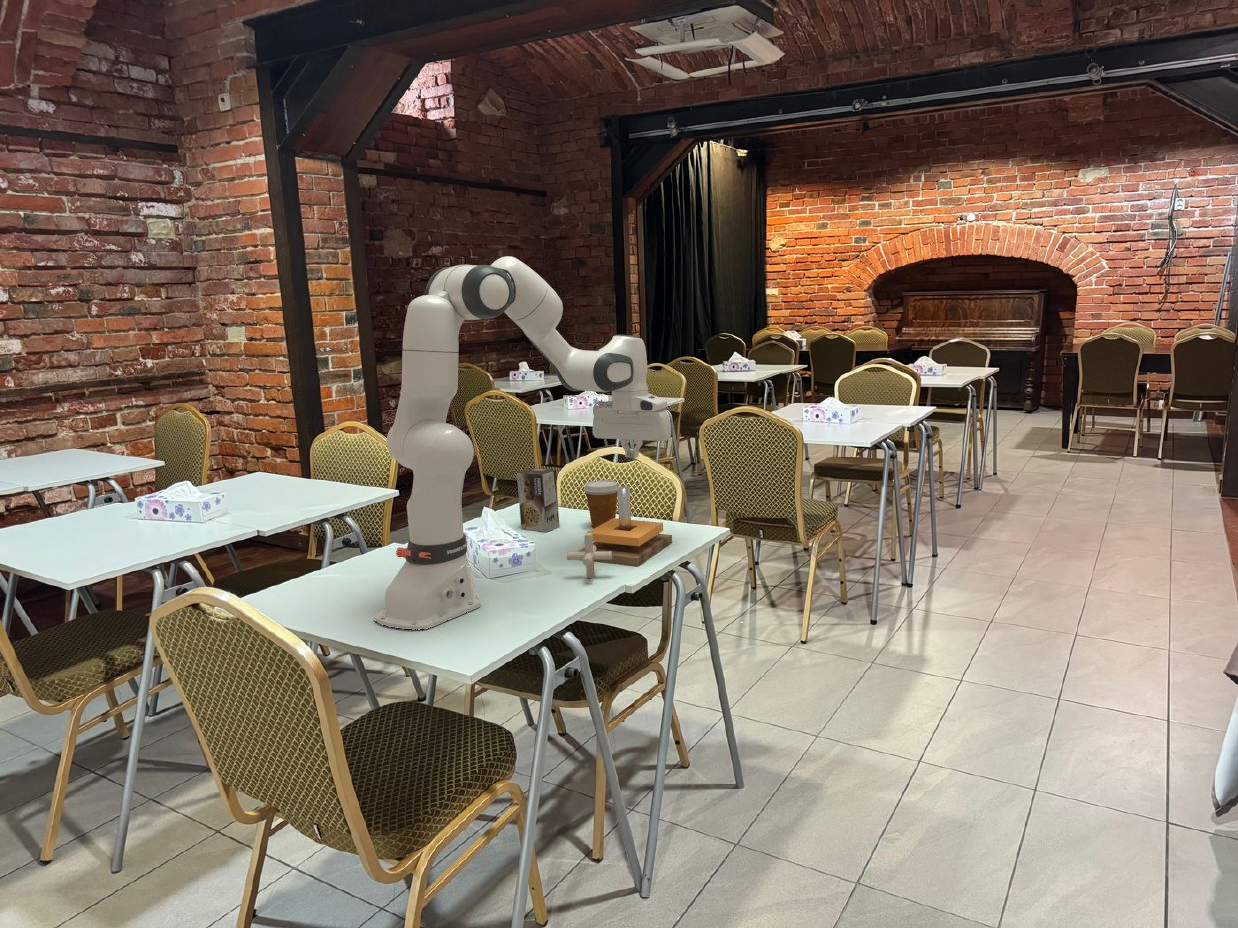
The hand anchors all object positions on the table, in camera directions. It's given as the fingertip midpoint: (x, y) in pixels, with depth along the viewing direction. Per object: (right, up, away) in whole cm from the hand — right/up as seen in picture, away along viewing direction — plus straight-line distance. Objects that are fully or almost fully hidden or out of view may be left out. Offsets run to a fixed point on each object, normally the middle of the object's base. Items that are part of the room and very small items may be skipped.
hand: (632, 457), depth 210 cm
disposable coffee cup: (-7, -19, +23) cm, 30 cm away
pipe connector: (-10, -27, -18) cm, 34 cm away
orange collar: (-2, -19, -1) cm, 19 cm away
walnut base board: (-1, -23, 0) cm, 23 cm away
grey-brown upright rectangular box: (-25, -19, +24) cm, 40 cm away
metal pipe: (-2, -21, -1) cm, 21 cm away
